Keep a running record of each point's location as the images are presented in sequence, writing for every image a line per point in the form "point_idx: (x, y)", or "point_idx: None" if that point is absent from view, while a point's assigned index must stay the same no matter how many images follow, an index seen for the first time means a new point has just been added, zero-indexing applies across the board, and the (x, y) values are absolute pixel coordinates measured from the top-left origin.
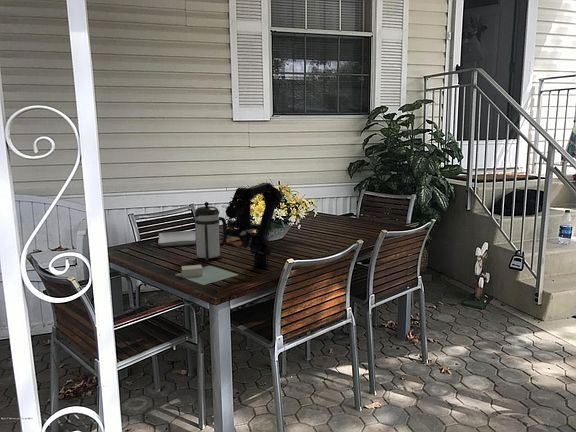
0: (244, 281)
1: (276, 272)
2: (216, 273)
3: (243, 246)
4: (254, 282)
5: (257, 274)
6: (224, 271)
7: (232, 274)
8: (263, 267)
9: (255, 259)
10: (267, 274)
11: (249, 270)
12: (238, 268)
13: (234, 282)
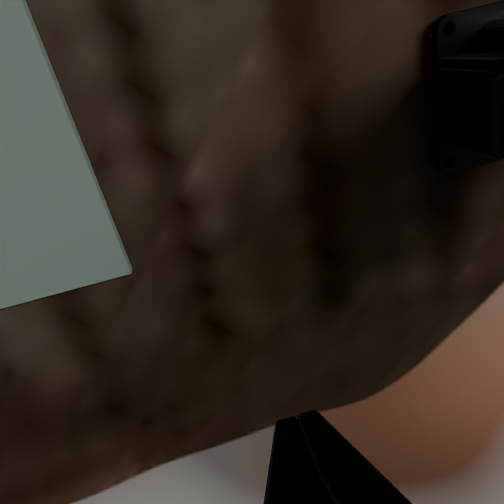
0: (115, 413)
1: (446, 332)
2: None
3: (272, 460)
4: (175, 455)
5: (297, 310)
6: (10, 71)
7: (69, 237)
8: (466, 165)
9: (480, 107)
10: (361, 344)
11: (307, 162)
12: (245, 6)
13: (26, 405)
